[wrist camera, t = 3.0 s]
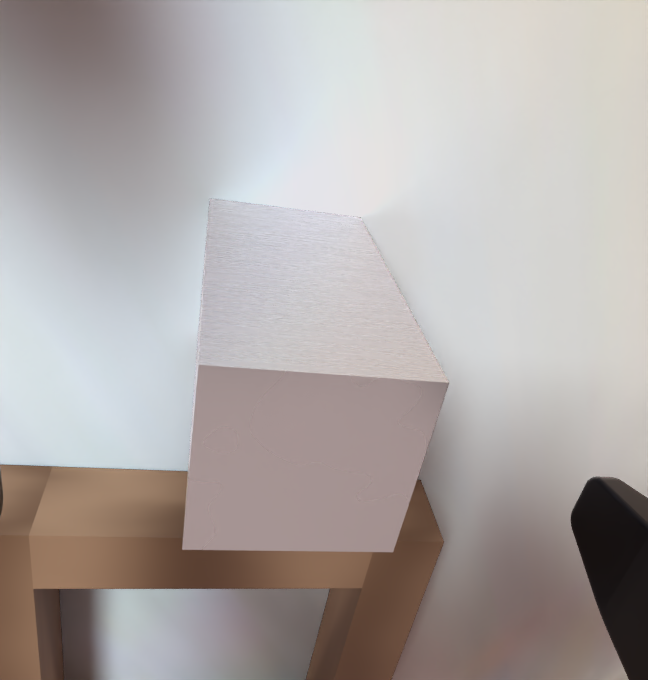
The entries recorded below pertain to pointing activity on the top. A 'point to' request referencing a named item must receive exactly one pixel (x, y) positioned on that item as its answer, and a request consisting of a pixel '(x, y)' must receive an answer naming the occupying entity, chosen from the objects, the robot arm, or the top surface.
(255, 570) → the square wooden frame
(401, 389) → the steel square peg
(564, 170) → the top surface
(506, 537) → the top surface
